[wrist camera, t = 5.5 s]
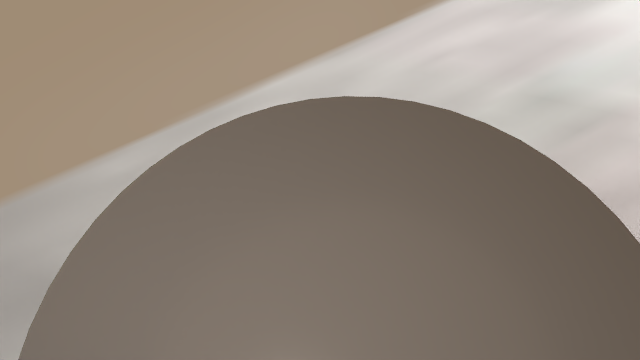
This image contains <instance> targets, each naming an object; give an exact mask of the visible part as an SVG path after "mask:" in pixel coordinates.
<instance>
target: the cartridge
mask: <svg viewBox="0 0 640 360" xmlns="http://www.w3.org/2000/svg"><path fill="white" fill-rule="evenodd" d="M18 360H640V244H639V242H638V241H637V240H636V239H635V237H634V236H633V235H632V234H631V233H630V231H629V230H628V229H627V228H626V226H625V225H624V224H623V223H622V222H621V220H620V219H619V218H618V217H617V216H616V215H615V214H614V213H613V212H612V211H611V210H610V209H609V208H608V207H607V206H606V205H605V204H604V203H603V202H602V201H601V200H600V199H599V198H598V197H597V196H596V195H594V194H593V193H592V192H591V191H590V190H589V189H588V188H587V187H586V186H585V185H584V184H582V183H581V182H580V181H578V180H577V179H576V178H575V177H573V176H572V175H571V174H570V173H568V172H567V171H566V170H564V169H563V168H562V167H561V166H559V165H558V164H557V163H556V162H554V161H553V160H551V159H550V158H548V157H546V156H545V155H543V154H542V153H540V152H538V151H537V150H535V149H534V148H532V147H530V146H529V145H527V144H526V143H524V142H522V141H521V140H519V139H517V138H515V137H513V136H511V135H509V134H507V133H505V132H503V131H500V130H498V129H496V128H494V127H492V126H490V125H488V124H486V123H484V122H481V121H478V120H475V119H472V118H470V117H467V116H464V115H461V114H459V113H456V112H453V111H450V110H446V109H442V108H438V107H434V106H430V105H426V104H421V103H417V102H412V101H404V100H397V99H389V98H382V97H349V96H343V97H331V98H319V99H309V100H304V101H298V102H293V103H288V104H283V105H278V106H274V107H270V108H267V109H264V110H261V111H257V112H254V113H251V114H247V115H244V116H242V117H239V118H237V119H234V120H232V121H230V122H227V123H225V124H223V125H220V126H218V127H216V128H213V129H211V130H209V131H207V132H205V133H204V134H202V135H200V136H198V137H196V138H195V139H193V140H191V141H189V142H187V143H186V144H184V145H182V146H180V147H179V148H177V149H176V150H174V151H173V152H171V153H170V154H169V155H167V156H166V157H164V158H163V159H161V160H160V161H159V162H157V163H156V164H154V165H153V166H151V167H150V168H149V169H148V170H146V171H145V172H144V173H143V174H142V175H141V176H140V177H138V178H137V179H136V180H135V181H134V182H133V183H131V184H130V185H129V186H128V187H127V188H126V189H125V190H123V191H122V192H121V193H120V194H119V195H118V196H117V197H116V199H115V200H114V201H113V202H112V203H111V204H110V205H109V206H108V207H107V208H106V209H105V210H104V211H103V212H102V213H101V214H100V216H99V217H98V218H97V219H96V220H95V221H94V222H93V224H92V225H91V226H90V228H89V229H88V230H87V231H86V233H85V234H84V235H83V237H82V238H81V239H80V241H79V242H78V243H77V245H76V246H75V247H74V248H73V250H72V251H71V252H70V254H69V256H68V257H67V259H66V261H65V262H64V264H63V266H62V267H61V269H60V270H59V272H58V274H57V275H56V277H55V279H54V280H53V282H52V284H51V285H50V287H49V288H48V291H47V293H46V295H45V297H44V299H43V301H42V303H41V305H40V307H39V309H38V311H37V314H36V316H35V318H34V320H33V322H32V324H31V326H30V328H29V331H28V334H27V337H26V340H25V342H24V345H23V348H22V351H21V354H20V356H19V359H18Z"/></svg>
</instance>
